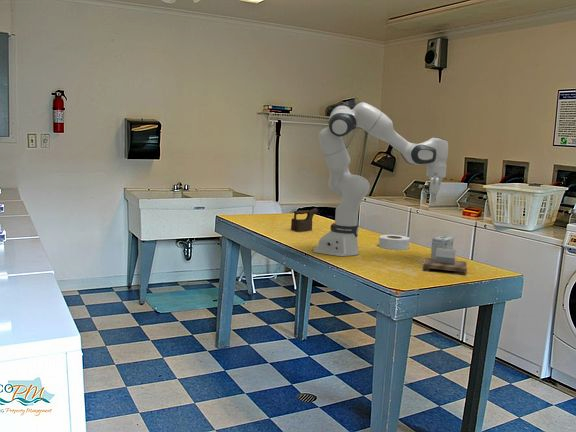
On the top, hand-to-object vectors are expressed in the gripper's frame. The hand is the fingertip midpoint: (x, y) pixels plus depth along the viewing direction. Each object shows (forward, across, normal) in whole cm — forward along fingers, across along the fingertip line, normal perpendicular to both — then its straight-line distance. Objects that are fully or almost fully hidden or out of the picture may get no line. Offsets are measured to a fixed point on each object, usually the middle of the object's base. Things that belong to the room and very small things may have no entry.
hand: (433, 202), depth 250 cm
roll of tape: (+28, +26, +19) cm, 43 cm away
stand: (+28, -14, -8) cm, 32 cm away
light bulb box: (+28, +7, -6) cm, 30 cm away
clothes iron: (+29, +49, +75) cm, 94 cm away
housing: (+25, -14, -8) cm, 30 cm away
